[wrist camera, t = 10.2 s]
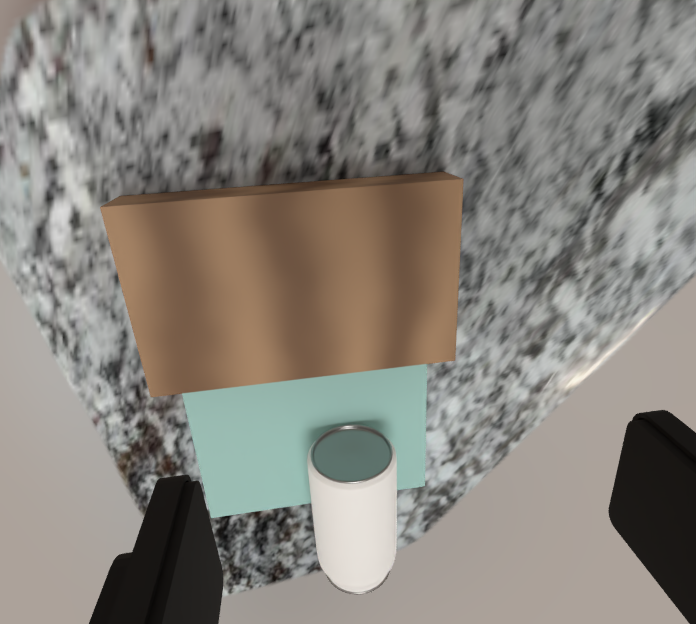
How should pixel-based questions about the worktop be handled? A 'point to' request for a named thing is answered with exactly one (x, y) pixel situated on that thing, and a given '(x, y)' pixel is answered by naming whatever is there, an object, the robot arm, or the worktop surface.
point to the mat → (299, 432)
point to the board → (289, 278)
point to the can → (354, 506)
